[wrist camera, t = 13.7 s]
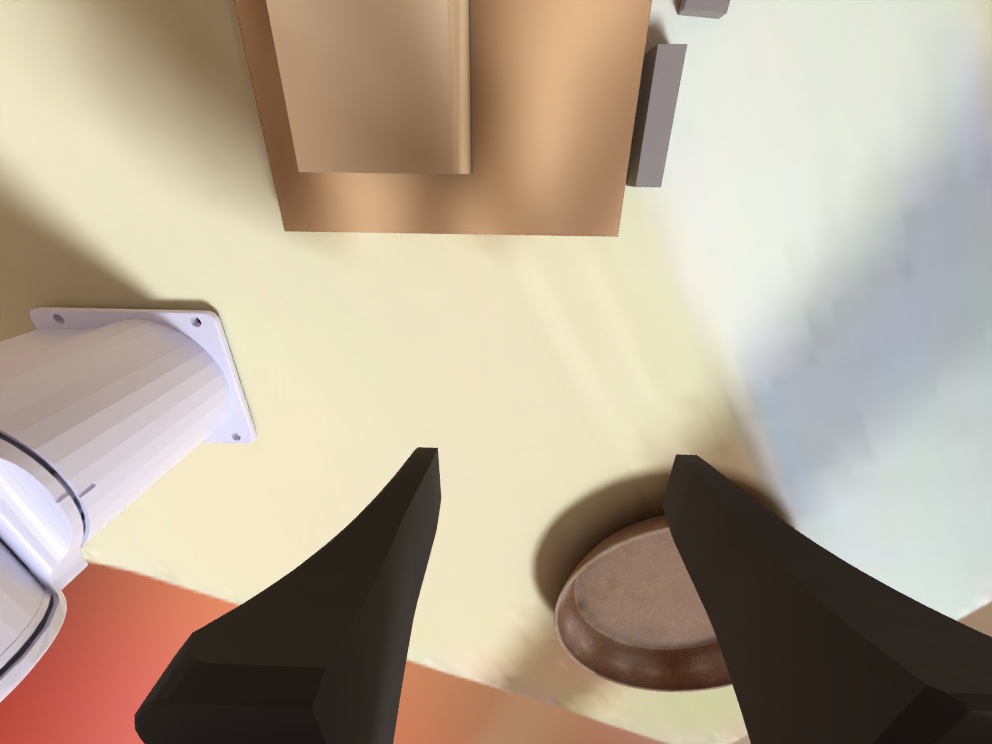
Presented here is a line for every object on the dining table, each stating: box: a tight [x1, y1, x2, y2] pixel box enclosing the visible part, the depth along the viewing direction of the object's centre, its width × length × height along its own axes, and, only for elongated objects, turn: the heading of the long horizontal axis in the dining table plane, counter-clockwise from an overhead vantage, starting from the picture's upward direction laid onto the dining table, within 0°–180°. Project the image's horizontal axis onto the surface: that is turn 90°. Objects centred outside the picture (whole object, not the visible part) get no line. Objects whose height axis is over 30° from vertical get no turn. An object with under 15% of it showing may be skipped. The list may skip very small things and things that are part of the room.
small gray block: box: [627, 44, 687, 187], centre depth 15 cm, size 2×4×1 cm
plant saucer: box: [554, 515, 733, 692], centre depth 27 cm, size 18×18×3 cm
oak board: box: [234, 0, 652, 237], centre depth 14 cm, size 14×14×2 cm
